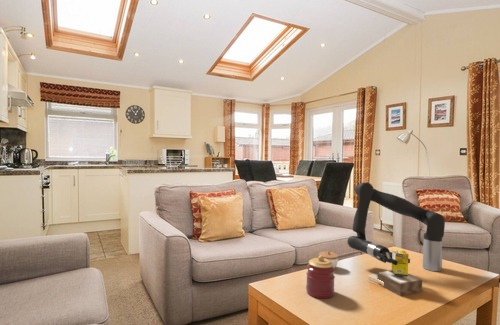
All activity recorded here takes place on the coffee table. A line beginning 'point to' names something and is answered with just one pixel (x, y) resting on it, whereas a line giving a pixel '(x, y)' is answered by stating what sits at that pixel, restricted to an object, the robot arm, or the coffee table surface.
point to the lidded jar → (330, 257)
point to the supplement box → (400, 262)
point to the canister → (320, 278)
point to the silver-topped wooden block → (400, 283)
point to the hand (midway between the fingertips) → (403, 262)
